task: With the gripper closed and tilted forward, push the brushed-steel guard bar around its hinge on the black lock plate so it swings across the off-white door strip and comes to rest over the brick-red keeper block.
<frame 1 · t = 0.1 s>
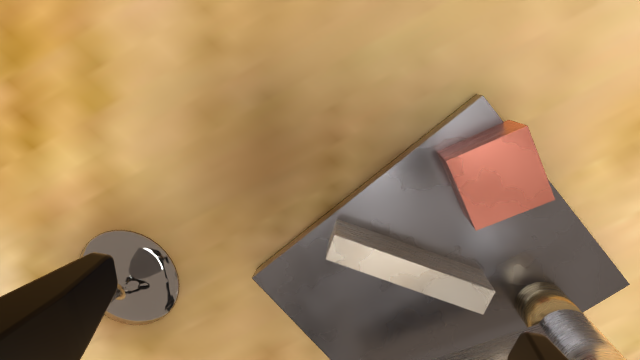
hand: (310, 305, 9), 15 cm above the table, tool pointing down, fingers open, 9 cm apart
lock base: (531, 292, 25), on the table
wine glass: (129, 277, 27), on the table
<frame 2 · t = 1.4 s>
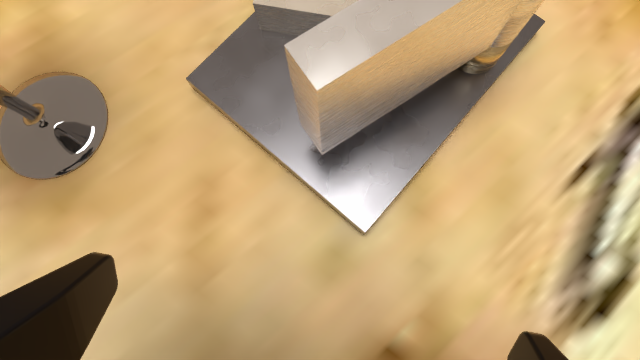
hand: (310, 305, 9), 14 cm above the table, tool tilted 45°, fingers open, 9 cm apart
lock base: (467, 63, 25), on the table
swing bar: (432, 32, 17), point 8 cm above the table, hinge at 90.0°
wine glass: (53, 125, 25), on the table
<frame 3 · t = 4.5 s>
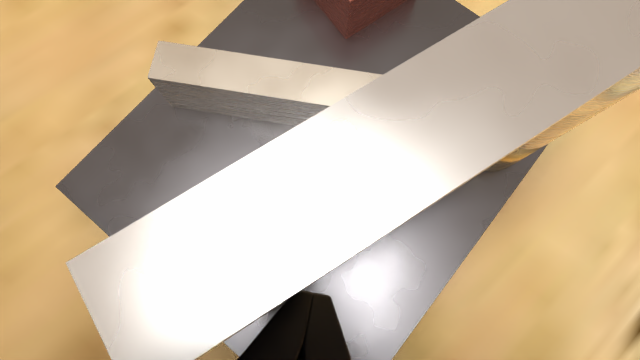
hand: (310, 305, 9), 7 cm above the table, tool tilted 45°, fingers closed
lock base: (476, 147, 17), on the table
swing bar: (428, 155, 9), point 7 cm above the table, hinge at 87.0°, touching gripper
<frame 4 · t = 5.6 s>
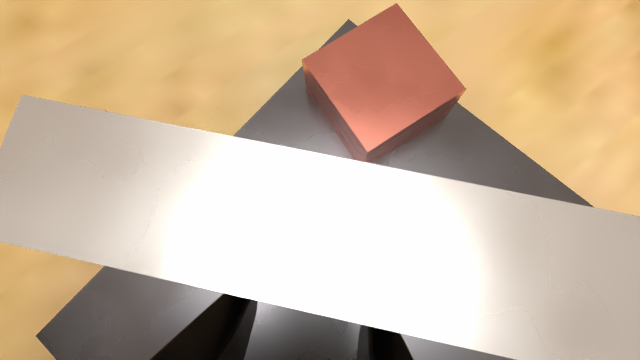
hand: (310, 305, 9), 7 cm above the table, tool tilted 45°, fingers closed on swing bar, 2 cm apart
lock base: (506, 298, 15), on the table
swing bar: (414, 267, 8), point 7 cm above the table, hinge at 44.9°, touching gripper
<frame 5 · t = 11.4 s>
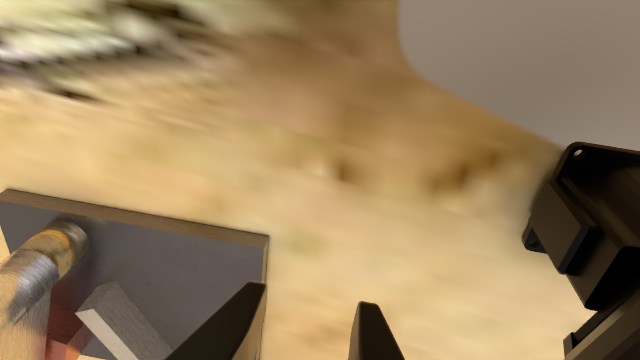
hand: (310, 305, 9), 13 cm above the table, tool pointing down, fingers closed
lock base: (80, 226, 26), on the table
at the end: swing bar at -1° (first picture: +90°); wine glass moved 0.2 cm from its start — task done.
